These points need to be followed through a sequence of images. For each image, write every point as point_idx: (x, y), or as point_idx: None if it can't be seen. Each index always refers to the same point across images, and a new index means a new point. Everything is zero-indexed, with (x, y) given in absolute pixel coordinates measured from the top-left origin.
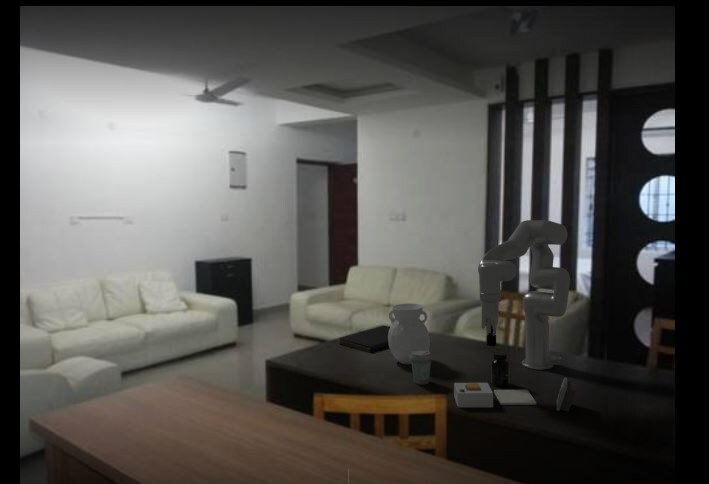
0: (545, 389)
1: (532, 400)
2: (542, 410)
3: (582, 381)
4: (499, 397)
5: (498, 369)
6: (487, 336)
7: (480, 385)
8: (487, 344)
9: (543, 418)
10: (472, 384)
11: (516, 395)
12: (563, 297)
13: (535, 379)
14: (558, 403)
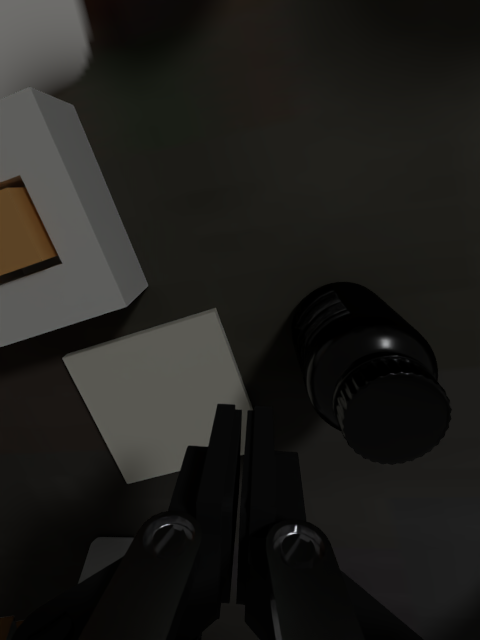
0: (315, 504)
1: (143, 471)
2: (84, 496)
3: (441, 614)
4: (122, 346)
5: (302, 363)
6: (200, 494)
7: (63, 273)
8: (216, 412)
9: (13, 499)
10: (7, 232)
11: (176, 412)
12: None
13: (440, 467)
14: (85, 568)
